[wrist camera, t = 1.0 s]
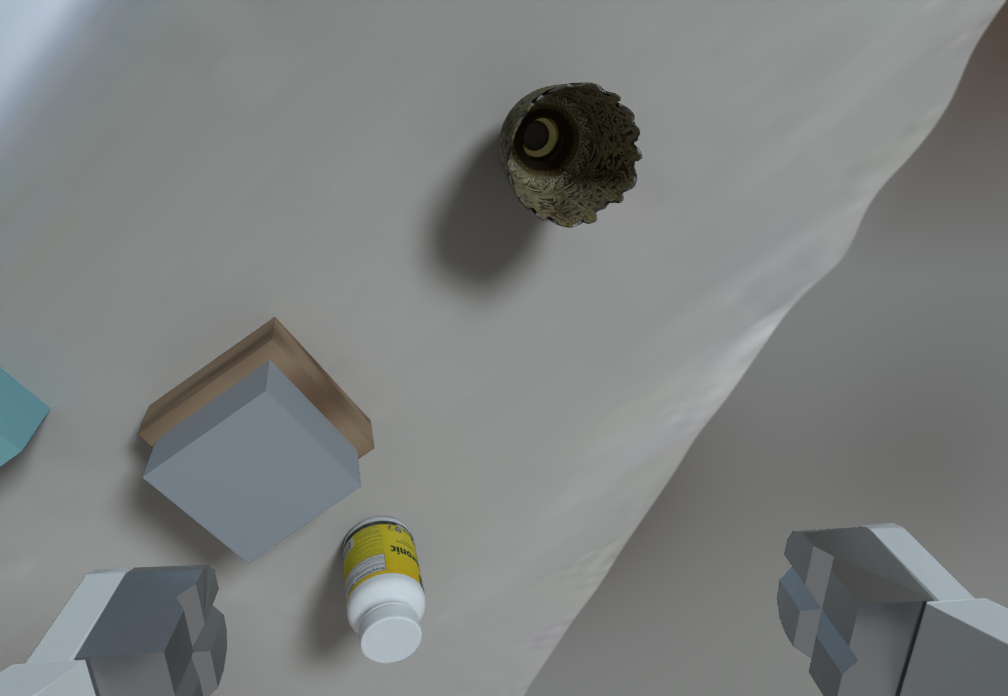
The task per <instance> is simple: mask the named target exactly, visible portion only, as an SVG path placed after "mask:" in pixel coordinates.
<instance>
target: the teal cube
mask: <svg viewBox="0 0 1008 696" xmlns="http://www.w3.org/2000/svg"><path fill="white" fill-rule="evenodd" d="M49 410H50V408H49V407H48V406H47V405H46V404H44V403H43V402H42V401H41V400H39V399H38V398H37V397H36V396H35V395H33V394H32V393H31V392H30V391H28V390H27V389H26V388H25V387H24V386H22V385H21V384H20V383H19V382H17V381H16V380H15V379H14V378H12V377H11V376H10V375H9V374H8V373H6V372H5V371H4V370H3V369H1V368H0V466H2V465H3V464H4V463H6V462H7V461H9V460H10V459H11V458H13V457H14V456H16V455H17V454H19V453H20V452H21V451H22V450H23V449H24V447H25V446H26V444H27V443H28V441H29V440H30V438H31V437H32V435H33V434H34V432H35V431H36V429H37V428H38V426H39V425H40V423H41V422H42V420H43V419H44V417H45V416H46V414H47V413H48V411H49Z"/></svg>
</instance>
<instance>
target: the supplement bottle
mask: <svg viewBox="0 0 1008 696" xmlns="http://www.w3.org/2000/svg"><path fill="white" fill-rule="evenodd" d="M343 567H344V580H345V594H346V611H347V617H348V621H349V624H350V625H351V627H352V628H353V630H354V631H355V632H356V633H357V634H359V638H360V647H361V650H362V652H363V654H364V655H365V656H366V657H367V658H369V659H370V660H372V661H375V662H379V663H392V662H397V661H400V660H402V659H405V658H406V657H408V656H409V655H411V654H412V653H413V652H414V651H415V650H416V649H417V647H418V646H419V644H420V641H421V637H422V634H421V627H420V620H421V618H422V616H423V614H424V611H425V603H426V602H425V594H424V589H423V584H422V579H421V574H420V570H419V565H418V559H417V555H416V549H415V544H414V540H413V537H412V534H411V532H410V530H409V529H408V528H407V526H406V525H404V524H403V523H402V522H400V521H398V520H396V519H393V518H389V517H376V518H371V519H368V520H365V521H363V522H361V523H360V524H358V525H357V526H355V527H354V528H353V529H352V530H351V531H350V532H349V533H348V535H347V536H346V538H345V541H344V544H343Z"/></svg>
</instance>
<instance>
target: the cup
mask: <svg viewBox="0 0 1008 696" xmlns="http://www.w3.org/2000/svg"><path fill="white" fill-rule="evenodd" d="M620 99H621V97H620V96H619V95H617V94H615V93H611V92H607V91H605V90H604V89H603V88H602V87H601V86H599V85H597V84H594V83H570V84H561V85H554V86H548V87H544V88H541V89H538V90H536V91H534V92H532V93H530V94H528V95H526V96H525V97H524V98H522V99H521V100H520V101H519V102H518V103H517V104H516V105H515V106H514V107H513V108H512V110H511V111H510V112H509V114H508V116H507V117H506V119H505V121H504V124H503V126H502V130H501V134H500V139H499V154H500V160H501V164H502V167H503V170H504V173H505V175H506V177H507V179H508V181H509V183H510V185H511V187H512V188H513V190H514V193H515V195H516V197H517V198H518V199H519V201H520V202H521V203H522V204H523V205H524V206H525V207H526V208H527V209H528V210H529V211H530V210H531V211H532V212H533V213H534V214H535V216H537V217H538V218H540V219H541V220H543V221H545V220H549V221H551V222H553V223H555V224H556V225H560V226H563V227H568V228H571V227H575V226H577V225H580V224H581V223H583V222H584V223H587V224H590V223H593V222H596V220H597V215H596V212H598V211H600V210H603V209H605V208H606V207H607V205H608V204H609V203H614V202H615V203H621V202H622V201H623V199H624V196H623V193H624V192H626V191H628V190H630V189H632V188H633V187H634V186H635V184H636V181H637V174H636V170H635V161H639V160H640V159H642V153H641V151H640V149H639V148H637V147H636V146H635V145H634V142H636V141H637V140H638V136H639V135H640V130H639V128H638V127H637V126H636V125H635V122H634V117H635V116H634V114H633V112H632V111H631V110H630V109H628V108H627V107H625V106H624V105H622V104H619V103H618V101H620ZM534 122H539V123H541V124H543V125H544V126H545V127H546V128H547V131H548V139H547V142H546V144H545V145H544V146H543V147H541V148H539V149H531V148H529V147H527V146H526V144H525V143H524V140H523V135H524V132H525V130H526V128H527V127H528V125H529V124H531V123H534Z"/></svg>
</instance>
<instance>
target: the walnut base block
mask: <svg viewBox="0 0 1008 696" xmlns="http://www.w3.org/2000/svg"><path fill="white" fill-rule="evenodd" d="M268 360H271V361H272V362H273V363H274V364H275V365H276V366H277V368H278V369H279V370H280V371H281V372H282V373H283V374H284V375H285V376H286V377H287V378H288V379H289V380H290V381H291V382H292V383H293V384H294V385H295V386H296V387H297V388H298V389H299V390H300V391H301V392H302V393H303V394H304V396H305V397H306V398H307V399H308V400H309V401H310V402H311V403H312V404H313V405H314V406H315V407H316V408H317V409H318V410H319V411H320V412H321V413H322V414H323V415H324V416H325V417H326V418H327V419H328V420H329V421H330V422H331V423H332V425H333V426H334V427H335V428H336V429H337V430H338V431H339V432H340V433H341V434H342V435H343V436H344V437H345V438H346V439H347V440H348V441H349V442H350V443H351V444H352V445H353V446H354V447H355V448H356V449H357V452H358V459H359V458H361V457H362V456H364V455H365V454H366V453H368V452H369V451H371V450H372V449H374V441H373V434H372V427H371V421H370V419H369V418H368V417H367V416H366V415H365V414H364V413H363V412H362V411H361V410H360V409H359V408H358V406H357V405H356V404H355V403H354V402H353V401H352V400H351V399H350V398H349V397H348V396H347V394H346V393H345V392H344V391H343V390H342V389H341V388H340V387H339V386H338V385H337V384H336V382H335V381H334V380H333V379H332V378H331V377H330V376H329V375H328V374H327V373H326V372H325V371H324V369H323V368H322V367H321V366H320V365H319V364H318V363H317V362H316V361H315V360H314V359H313V357H312V356H311V355H310V354H309V353H308V352H307V351H306V350H305V349H304V348H303V347H302V345H301V344H300V343H299V342H298V341H297V340H296V339H295V338H294V337H293V336H292V335H291V334H290V332H289V331H288V330H287V329H286V328H285V327H284V326H283V325H282V324H281V323H280V322H279V320H278V319H277V318H276V317H274V318H273V319H271V320H270V321H268V322H267V323H266V324H264V325H263V326H261V327H260V328H259V329H257V330H256V331H254V332H253V333H251V334H250V335H249V336H247V337H246V338H244V339H243V340H242V341H240V342H239V343H237V344H236V345H234V346H233V347H232V348H230V349H229V350H227V351H226V352H225V353H223V354H222V355H220V356H219V357H217V358H216V359H215V360H213V361H212V362H210V363H209V364H208V365H206V366H205V367H203V368H202V369H201V370H199V371H198V372H196V373H195V374H193V375H192V376H191V377H189V378H188V379H186V380H185V381H184V382H182V383H181V384H179V385H178V386H176V387H175V388H174V389H172V390H171V391H169V392H168V393H167V394H165V395H164V396H162V397H161V398H159V399H158V400H157V401H155V402H154V403H152V404H151V405H150V406H149V408H148V411H147V413H146V416H145V418H144V420H143V423H142V425H141V428H140V430H139V432H138V435H139V436H140V437H141V438H142V439H144V440H145V441H146V442H147V443H148V444H149V445H151V446H152V447H154V445H155V442H156V439H158V438H159V437H160V436H162V435H163V434H165V433H166V432H168V431H169V430H170V429H172V428H173V427H175V426H176V425H177V424H179V423H180V422H182V421H183V420H185V419H186V418H187V417H189V416H190V415H192V414H193V413H194V412H196V411H197V410H199V409H200V408H202V407H203V406H204V405H206V404H207V403H209V402H210V401H211V400H213V399H214V398H216V397H217V396H219V395H220V394H221V393H223V392H224V391H226V390H227V389H228V388H230V387H231V386H233V385H234V384H236V383H237V382H238V381H240V380H241V379H243V378H244V377H245V376H247V375H248V374H250V373H251V372H253V371H254V370H255V369H257V368H258V367H260V366H261V365H262V364H264V363H265V362H267V361H268Z"/></svg>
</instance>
